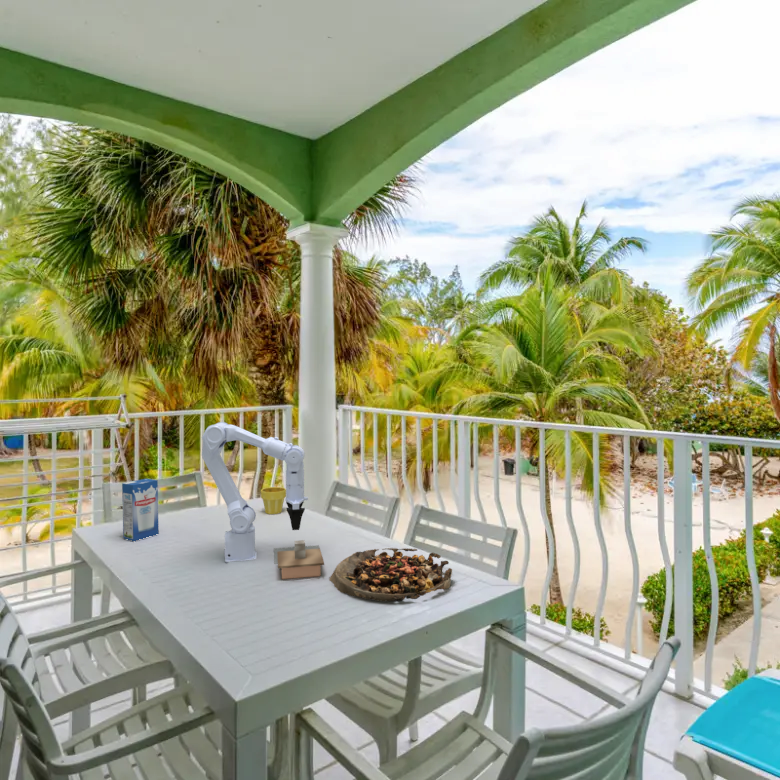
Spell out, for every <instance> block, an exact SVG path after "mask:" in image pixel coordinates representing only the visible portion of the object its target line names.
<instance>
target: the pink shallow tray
mask: <svg viewBox="0 0 780 780" xmlns="http://www.w3.org/2000/svg"><path fill="white" fill-rule="evenodd" d="M321 566H322V565H317V566H304V567H291V568H280V571H281V580H282V581H283V582H284V581H286V582H287V580H289V579H290V580H292V579H294V581H295V580H296V581H297V580H299V579H304V578H306V580H307V579H311V578H312V577H313V578H317V577H318V579H320V578H321V570H322V569H321Z"/></svg>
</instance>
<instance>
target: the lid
mask: <svg viewBox="0 0 780 780" xmlns="http://www.w3.org/2000/svg"><path fill="white" fill-rule="evenodd" d="M305 546H306V541H305V539H302V540H294V547H295V550H293V551H279V552H277V557H278V564H277V569H281V568H291V567H304V566H317V565H321V566H325V561H324V558H323V554H322V551H321V548H320V549H307V550H305Z"/></svg>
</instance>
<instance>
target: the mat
mask: <svg viewBox="0 0 780 780" xmlns="http://www.w3.org/2000/svg"><path fill="white" fill-rule="evenodd" d="M307 549H320V550H321V547H320V545H319V544H318V545H305V550H307ZM293 550H295V546H291V547H290V546H289V547H275V548H274V547H273V561H274V562H273V563H274V565H278V557H277V552H279V551H293Z"/></svg>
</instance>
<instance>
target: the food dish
mask: <svg viewBox="0 0 780 780" xmlns="http://www.w3.org/2000/svg"><path fill="white" fill-rule="evenodd" d="M379 550H380V548H377V549H376V548H374V549H367V550H364V551H355V552H354V553H352V554H351V555H349V556H347V557H345V558H343V560H342V561H340V562H339V563H338V564H337V565H336V567H335V568H334V570H333V572H332V574H331V575H330V577H329V579H328V581H329V582H331V583H332V584H333V586H334V588H336V589H337V591H338V592H339V593H341V594H347V595H349V596H350V597H356V598H362V599H366V600H371V601H373V600H374V601H378V602H394V601H404V600H405V599H411V600H416V599H418V598H420V597H421V596H425V595H427V594H428V593H429V594H430V593H431V592H436V591H437V590H448V589H449V588H450V586H451V582H452V581H451V578H452V574H453V569H452V568H451V567H449V568H447V569H446V570H445V573H444V572H443V568H444V567H445V566H446V565H449V561H448V560H441V561H440V565H439V563H437V562H436V563H434V559H435V558H436V559H439V560H440V558H441V557H442V556H441V555H440V554H438V553H435V552H430V553H429V554H428V557H427V558H426V557H425V556H424V555H423V554H421V555H418V554H413V555H412V556H410V555H409V556H408V555H404V554H403V552H402V551H405V552H415V551H418V548H409V547H408V548H396V547H394V548H393V547H390V548H389V547H388V548H387V547H386V548H381V550H383V552H381V553H378V554H377V555H376V552H378V551H379ZM384 550H385V551H384ZM386 550H389V551H393V553H392V555H389V554H388V552H387V551H386ZM433 557H434V558H433Z"/></svg>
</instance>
